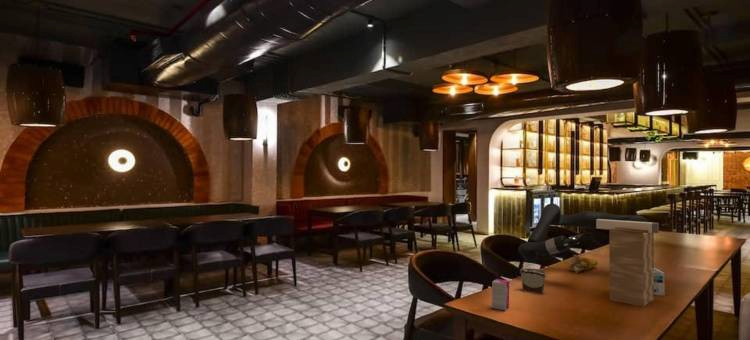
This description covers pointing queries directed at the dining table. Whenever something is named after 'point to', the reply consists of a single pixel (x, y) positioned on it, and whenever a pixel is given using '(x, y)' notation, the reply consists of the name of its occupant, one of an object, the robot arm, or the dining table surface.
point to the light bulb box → (659, 282)
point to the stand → (631, 266)
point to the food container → (533, 280)
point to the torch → (582, 264)
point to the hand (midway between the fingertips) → (589, 236)
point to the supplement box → (500, 295)
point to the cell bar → (627, 225)
